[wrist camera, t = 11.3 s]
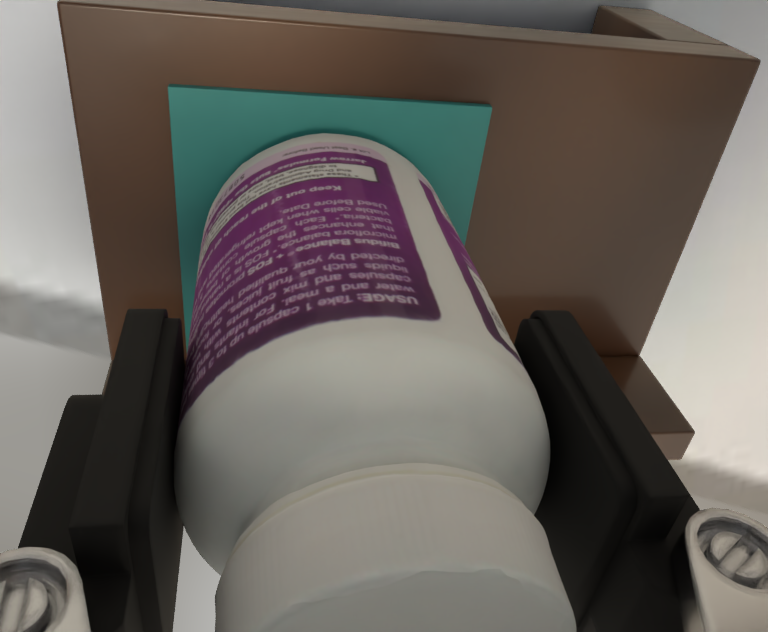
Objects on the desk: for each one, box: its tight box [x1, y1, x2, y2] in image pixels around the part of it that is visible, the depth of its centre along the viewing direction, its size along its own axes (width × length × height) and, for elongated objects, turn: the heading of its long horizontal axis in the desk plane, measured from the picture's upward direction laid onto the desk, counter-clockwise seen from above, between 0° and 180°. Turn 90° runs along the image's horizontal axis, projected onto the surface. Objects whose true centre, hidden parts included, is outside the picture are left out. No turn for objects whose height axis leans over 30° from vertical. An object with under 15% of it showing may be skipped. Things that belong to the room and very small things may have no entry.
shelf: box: [57, 0, 760, 460], centre depth 16 cm, size 14×9×8 cm, turn 84°
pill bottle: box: [174, 133, 577, 632], centre depth 11 cm, size 5×5×10 cm
